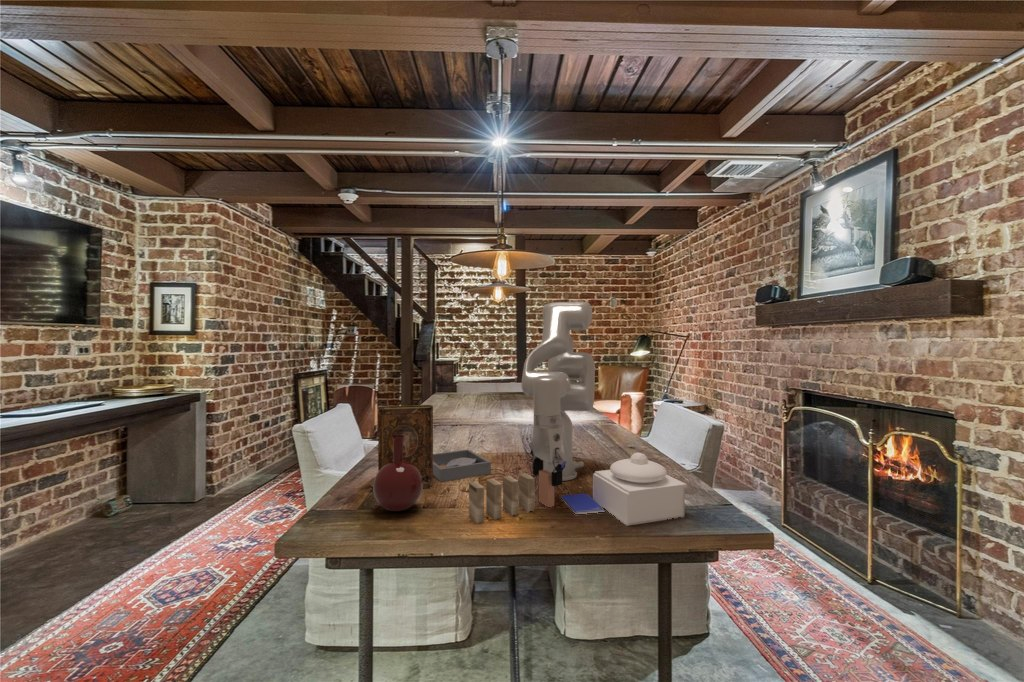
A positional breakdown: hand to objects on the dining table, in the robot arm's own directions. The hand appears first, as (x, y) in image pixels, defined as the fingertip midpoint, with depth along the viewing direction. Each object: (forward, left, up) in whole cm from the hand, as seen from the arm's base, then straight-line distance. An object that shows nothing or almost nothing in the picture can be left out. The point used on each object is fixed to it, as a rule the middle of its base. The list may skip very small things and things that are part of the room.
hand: (547, 479), depth 131 cm
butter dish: (-19, +15, -7) cm, 26 cm away
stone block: (+10, -40, -7) cm, 42 cm away
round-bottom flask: (+38, -15, -7) cm, 42 cm away
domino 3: (+12, +1, -7) cm, 14 cm away
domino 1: (+22, +1, -7) cm, 23 cm away
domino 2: (+17, +1, -7) cm, 19 cm away
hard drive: (-8, +6, -7) cm, 12 cm away
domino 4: (+7, +1, -7) cm, 10 cm away
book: (+31, -32, -7) cm, 45 cm away
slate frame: (+11, -41, -7) cm, 43 cm away
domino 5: (+1, +1, -7) cm, 7 cm away
